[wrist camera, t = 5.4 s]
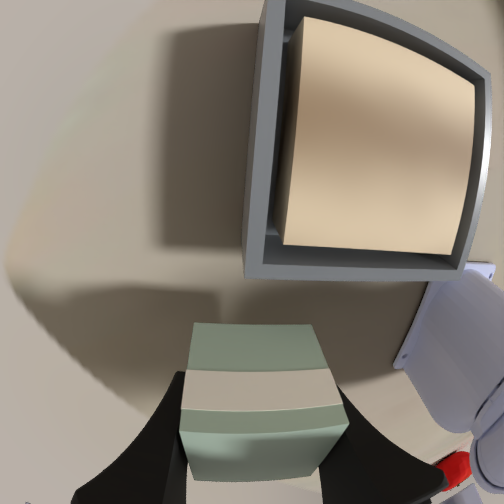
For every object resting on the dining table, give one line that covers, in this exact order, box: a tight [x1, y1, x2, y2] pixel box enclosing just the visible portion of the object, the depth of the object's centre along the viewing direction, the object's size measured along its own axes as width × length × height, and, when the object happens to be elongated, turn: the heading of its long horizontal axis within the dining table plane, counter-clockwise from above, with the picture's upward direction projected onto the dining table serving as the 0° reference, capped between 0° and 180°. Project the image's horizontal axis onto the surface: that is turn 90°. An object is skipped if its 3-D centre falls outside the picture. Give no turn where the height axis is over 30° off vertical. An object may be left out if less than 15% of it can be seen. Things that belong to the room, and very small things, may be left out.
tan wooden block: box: [272, 16, 475, 255], centre depth 10 cm, size 8×8×3 cm
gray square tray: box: [241, 0, 492, 281], centre depth 10 cm, size 11×11×4 cm
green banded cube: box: [179, 322, 349, 482], centre depth 9 cm, size 5×5×5 cm
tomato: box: [436, 451, 472, 491], centre depth 37 cm, size 12×13×12 cm
